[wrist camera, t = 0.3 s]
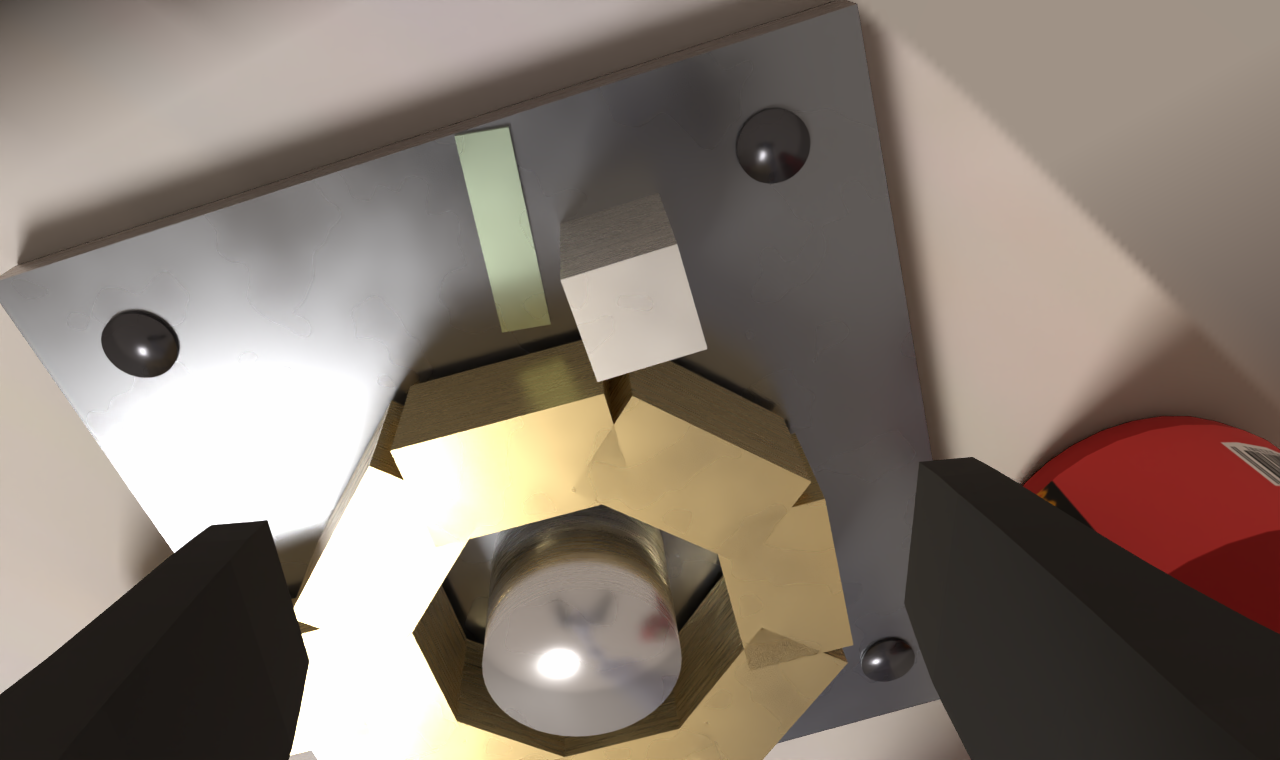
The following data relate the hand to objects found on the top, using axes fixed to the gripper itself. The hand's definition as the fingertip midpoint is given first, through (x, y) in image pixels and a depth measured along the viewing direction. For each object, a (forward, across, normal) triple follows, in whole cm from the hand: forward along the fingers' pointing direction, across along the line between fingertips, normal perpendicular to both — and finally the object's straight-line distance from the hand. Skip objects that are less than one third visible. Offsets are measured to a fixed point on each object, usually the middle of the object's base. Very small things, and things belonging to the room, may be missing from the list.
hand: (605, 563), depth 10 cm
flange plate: (+10, +1, +7) cm, 12 cm away
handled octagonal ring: (+9, +4, +8) cm, 12 cm away
